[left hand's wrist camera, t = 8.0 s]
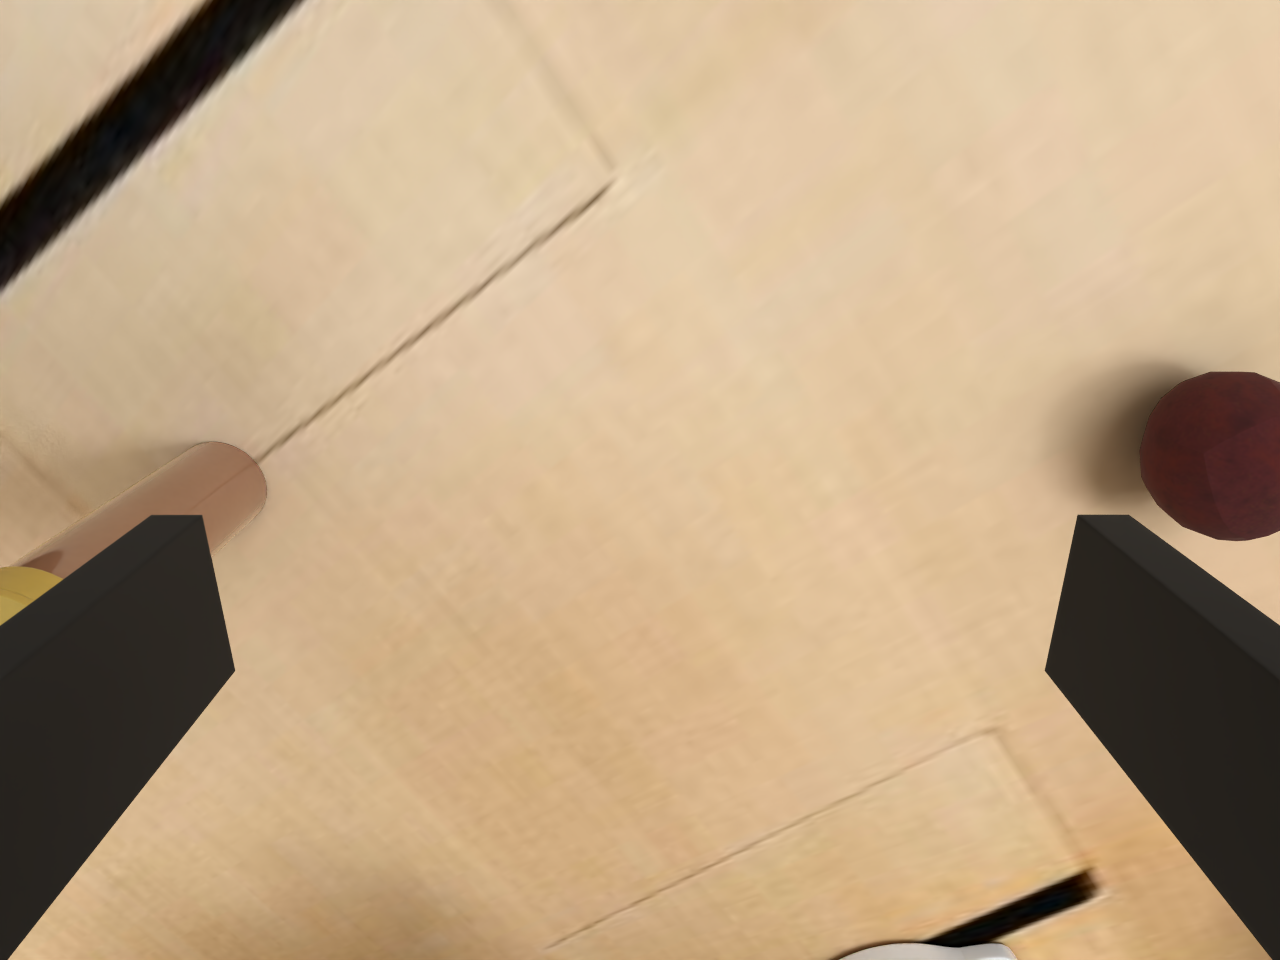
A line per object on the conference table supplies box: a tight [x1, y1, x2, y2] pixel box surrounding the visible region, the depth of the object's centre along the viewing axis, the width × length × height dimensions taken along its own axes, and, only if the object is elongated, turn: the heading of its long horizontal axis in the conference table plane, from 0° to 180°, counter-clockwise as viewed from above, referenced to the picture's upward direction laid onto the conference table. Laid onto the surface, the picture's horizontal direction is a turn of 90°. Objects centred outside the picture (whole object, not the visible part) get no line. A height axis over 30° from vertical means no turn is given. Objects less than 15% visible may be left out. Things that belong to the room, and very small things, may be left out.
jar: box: [8, 442, 267, 579], centre depth 35 cm, size 5×5×15 cm
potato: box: [1140, 372, 1280, 541], centre depth 38 cm, size 7×8×7 cm
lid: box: [0, 566, 63, 625], centre depth 28 cm, size 5×5×2 cm
